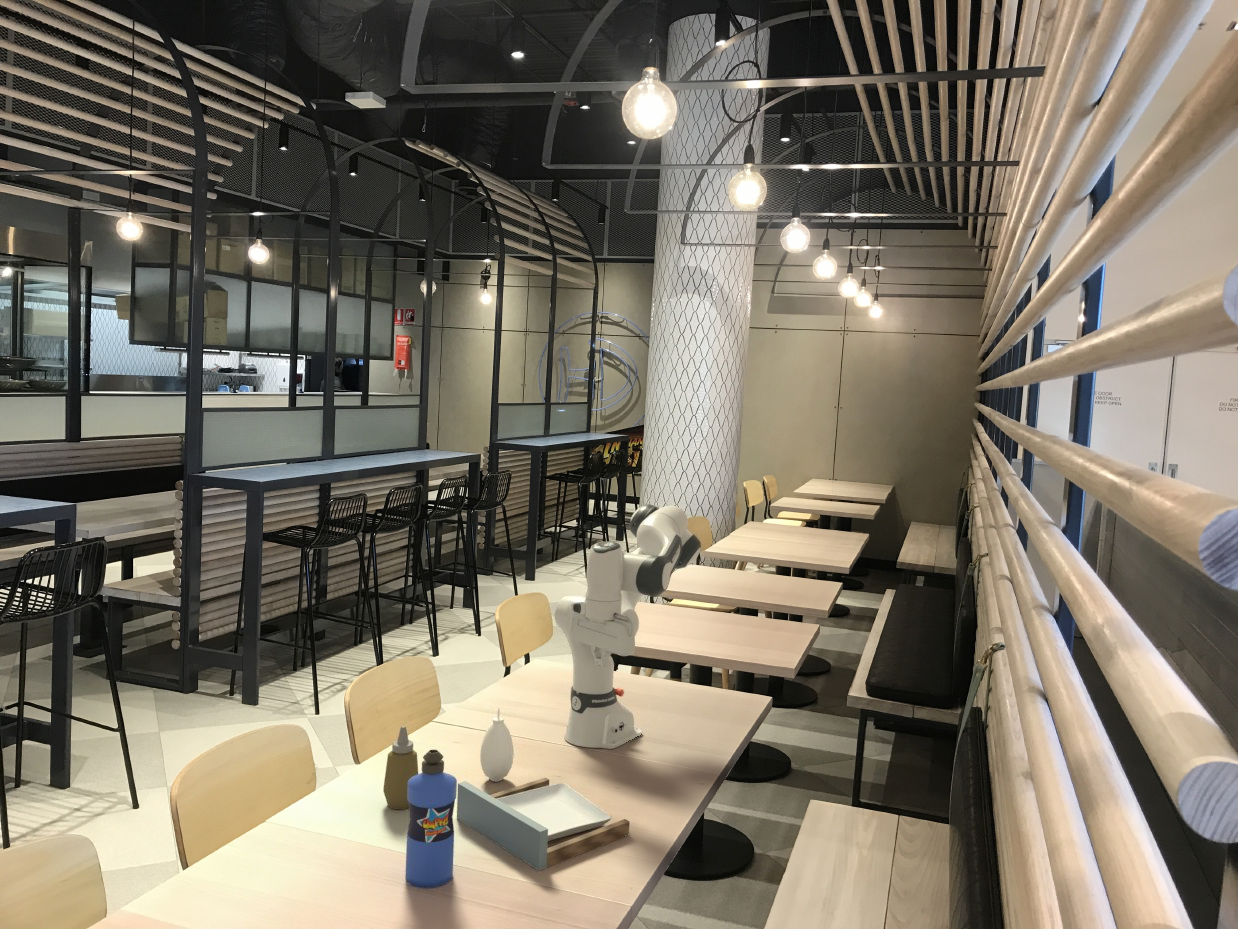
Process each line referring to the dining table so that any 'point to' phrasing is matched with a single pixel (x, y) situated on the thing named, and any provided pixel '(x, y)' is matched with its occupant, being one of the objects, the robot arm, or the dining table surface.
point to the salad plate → (558, 809)
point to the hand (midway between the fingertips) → (600, 665)
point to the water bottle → (430, 824)
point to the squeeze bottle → (400, 771)
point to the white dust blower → (497, 750)
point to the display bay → (525, 827)
